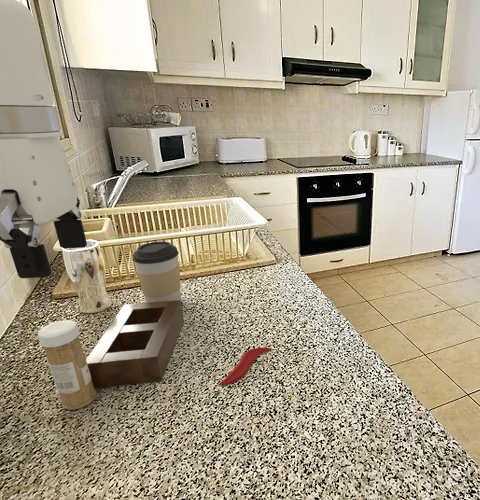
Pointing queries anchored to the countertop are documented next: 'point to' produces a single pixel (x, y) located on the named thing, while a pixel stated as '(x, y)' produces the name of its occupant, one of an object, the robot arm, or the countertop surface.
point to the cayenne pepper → (243, 365)
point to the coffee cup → (158, 271)
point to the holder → (136, 344)
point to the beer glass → (88, 276)
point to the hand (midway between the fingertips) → (56, 260)
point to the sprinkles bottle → (67, 363)
